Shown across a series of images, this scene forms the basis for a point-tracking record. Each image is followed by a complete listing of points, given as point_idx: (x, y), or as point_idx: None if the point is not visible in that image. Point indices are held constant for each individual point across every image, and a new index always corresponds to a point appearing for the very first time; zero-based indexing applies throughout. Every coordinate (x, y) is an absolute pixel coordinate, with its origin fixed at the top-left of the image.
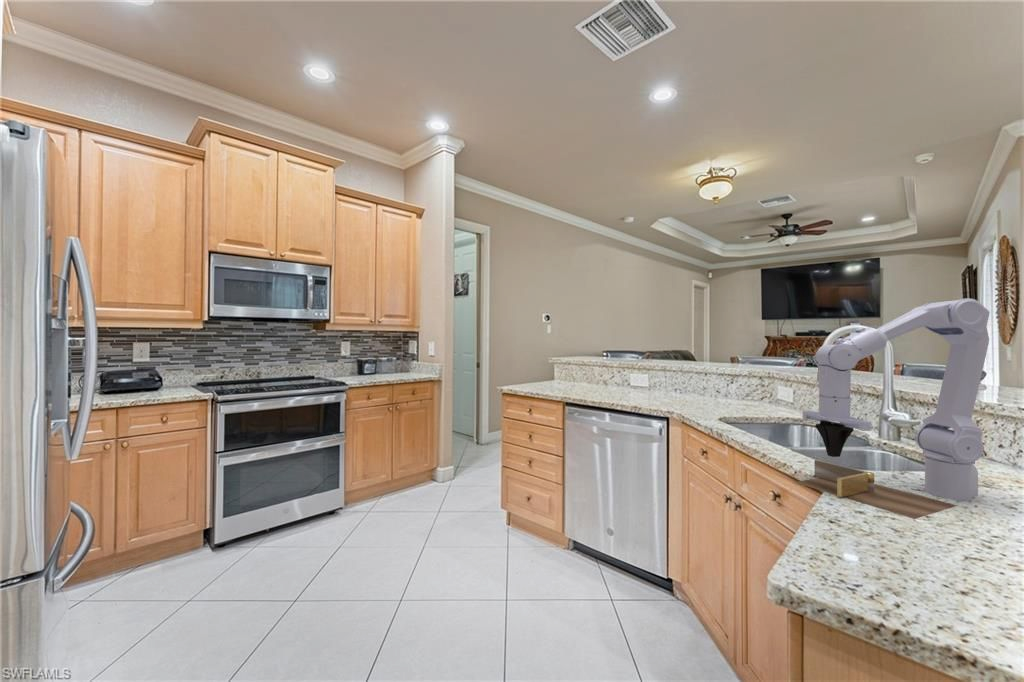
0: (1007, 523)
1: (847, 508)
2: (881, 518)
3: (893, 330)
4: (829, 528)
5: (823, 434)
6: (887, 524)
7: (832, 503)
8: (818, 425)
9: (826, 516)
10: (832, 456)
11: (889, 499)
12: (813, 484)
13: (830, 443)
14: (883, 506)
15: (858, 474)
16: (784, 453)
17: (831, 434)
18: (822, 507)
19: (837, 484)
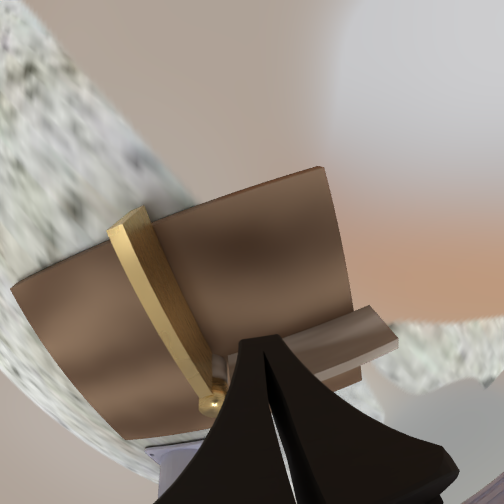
0: (86, 438)
1: (100, 193)
2: (40, 235)
3: None
4: (7, 45)
5: (333, 433)
6: (10, 215)
7: (143, 176)
8: (413, 489)
9: (53, 76)
10: (242, 339)
11: (135, 356)
12: (291, 226)
13: (250, 395)
14: (73, 289)
15: (190, 365)
16: (494, 355)
17: (225, 469)
18: (111, 109)
19: (130, 216)
